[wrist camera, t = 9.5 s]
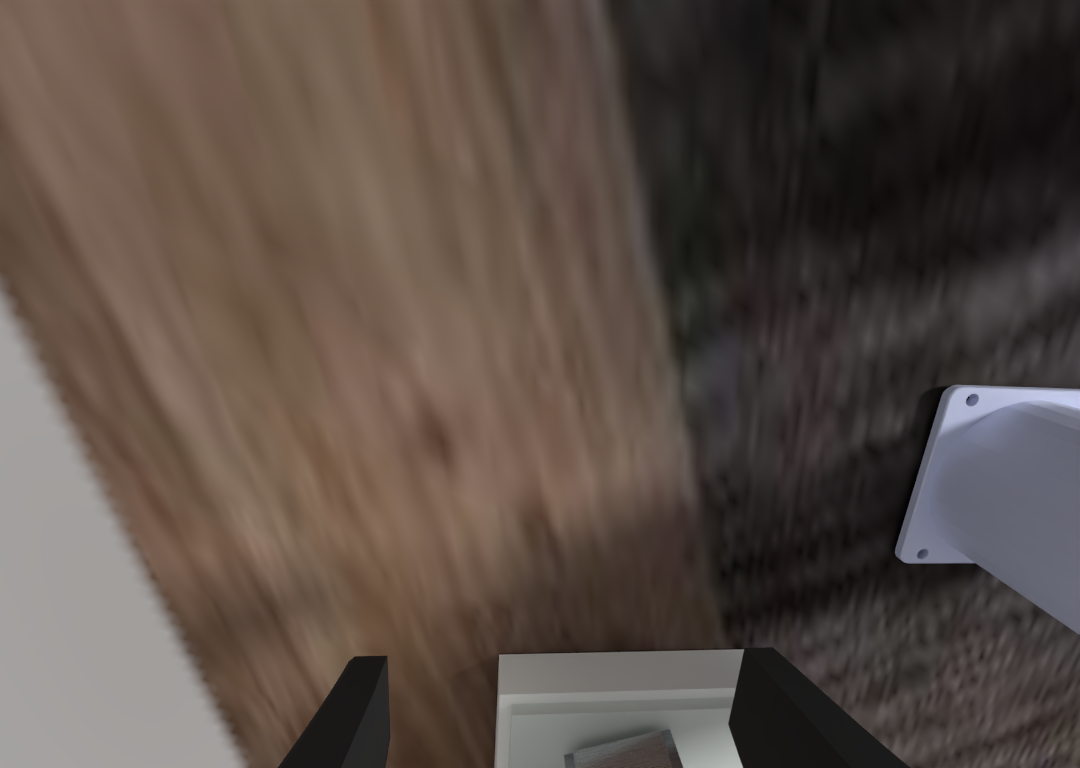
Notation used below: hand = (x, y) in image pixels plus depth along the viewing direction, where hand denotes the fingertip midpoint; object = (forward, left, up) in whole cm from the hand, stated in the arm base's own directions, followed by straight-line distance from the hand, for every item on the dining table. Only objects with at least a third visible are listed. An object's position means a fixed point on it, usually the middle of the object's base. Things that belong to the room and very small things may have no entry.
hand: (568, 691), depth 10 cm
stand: (-5, +15, -10) cm, 19 cm away
